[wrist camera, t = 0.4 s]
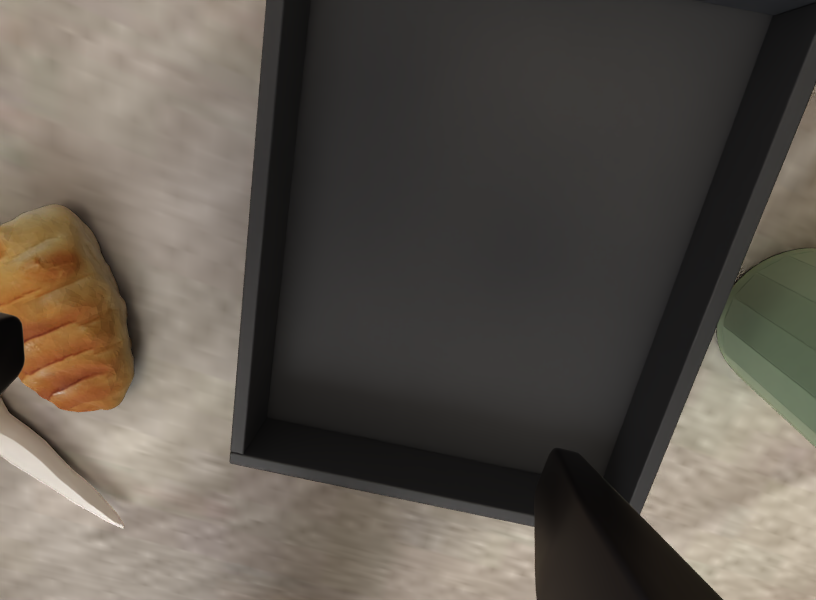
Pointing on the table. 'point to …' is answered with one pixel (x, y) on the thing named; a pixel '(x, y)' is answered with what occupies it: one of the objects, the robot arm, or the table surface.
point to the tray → (500, 233)
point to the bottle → (776, 335)
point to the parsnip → (49, 466)
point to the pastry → (65, 310)
